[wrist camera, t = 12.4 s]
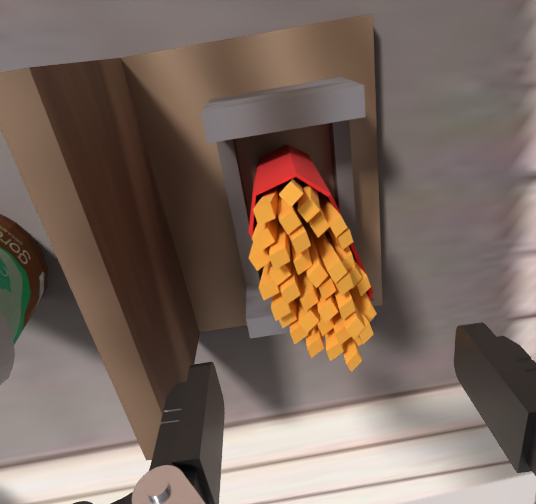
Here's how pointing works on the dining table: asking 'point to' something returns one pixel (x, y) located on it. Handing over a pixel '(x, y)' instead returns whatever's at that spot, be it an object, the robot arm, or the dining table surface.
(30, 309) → the food container
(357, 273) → the french fries
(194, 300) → the wooden shelf
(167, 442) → the robot arm
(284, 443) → the dining table surface
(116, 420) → the dining table surface
